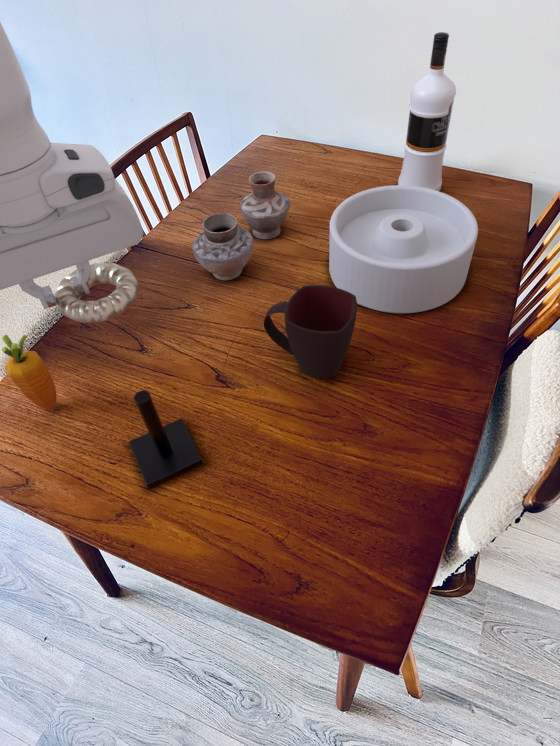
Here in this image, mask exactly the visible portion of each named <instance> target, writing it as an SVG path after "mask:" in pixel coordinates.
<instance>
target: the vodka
mask: <svg viewBox="0 0 560 746" xmlns="http://www.w3.org/2000/svg"><path fill="white" fill-rule="evenodd" d="M449 37H450V34H449V33H448V32H445V31H441V32H436V33H434V35H433V41H432V49H431V55H430V56H431V57H430V63H429V70H428V73H427V74H425V75H423V76H422V77H421V78H419V79H418V80H416V81H415V82H414V83H413V85H412V87H411V90H410V100H409V102H410V103H409V106H408V107H409V113H408V121H407V122H408V123H407V129H406V131H407V132H406V137H405V138H406V139H405V142H404V153H403V154H404V155H403V159H402V160H403V161H402V165H401V170H400V174H399V176H398V181H397V185H408V186H418V187H424V188H429V189H433V190H436V191H439V192H441V189H442V185H443V184H442V183H443V178H442V174H443V163H444V157H445V153H446V150H447V141H448V134H449V130H450V124H451V117H452V113H453V106H454V100H455V97H456V94H457V89H456V88H457V87H456V84H455V83H454V81H453V80H452V79H451V78H450V77H448V76H447V75H446V74H444V73H445V72H444V71H445V62H446V57H447V52H448V43H449Z"/></svg>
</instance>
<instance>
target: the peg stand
mask: <svg viewBox="0 0 560 746" xmlns="http://www.w3.org/2000/svg"><path fill="white" fill-rule="evenodd" d="M133 401H134V403H135V405H136V408H137V410H138V412H139V414H140V417H141V419H142V421H143V422H144V423H143V424H144V426H145V428H146V430H147V433H145V434H143V435H140V436H138V437H136V438H134V439H131V440H129V442H128V443H129V446H130V448H131V450H132V453H133V456H134V458H135V461H136V464H137V466H138V468H139V471H140V473H141V476H142V479H143V481H144V484H145V486H146V488H147V490H151V489H152V488H154V487H157V486H158V485H161V484H163V483H165V482H168V481H169V480H172V479H174V478H176V477H178V476H180V475H182V474H184V473H186V472H188V471H191V470H193V469H195V468H198V467H200V466H202V465H204V461H203V459H202V456H201V455H200V453H199V451H198V449H197V447H196V444H195V443H194V440H193V438H192V436H191V435H190V432H189V430H188V428H187V426H186V424H185V423H184V420H183V419H182V418H179V419H177V420H174V421H173V422H170V423H168V424H165V425H163V423H162V420H161V417H160V415H159V413H158V410H157V408H156V406H155V403H154V401H153V398H152V396H151V393H150V392H149V391H148V390H139V391H137V392H136V393H135V394H134V396H133Z"/></svg>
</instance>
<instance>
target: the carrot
mask: <svg viewBox="0 0 560 746" xmlns="http://www.w3.org/2000/svg"><path fill="white" fill-rule="evenodd" d="M27 337H28V335H27V334H23V335H22V336H21V338H20V339H19V343H16V342H14V343H13V342H12V340H11V338H10V337H9V336H8V334H4V335H3V336H2V337H1V340H2V341H3V343H5V345H6V346H3V347H2V348H1V351H2V352H3V354H5V355H7V356H9V359H8V361H7V362H6V364H5V366H4V369H5V371H6V373H7V374H8V376H9V378H11V380H12V381H13V382H14V384H15V385H16V386H17V387H18V389H19V390H20V391H21V392H22V394H23V395H24V396H25V397H26V398H27V399H29V401H31V402H32V403H33V404H34V405H36V406H38V407H40V408H42V409H45V410H48V411H52V410H54V409H55V407H56V405H57V397H58V396H57V390H56V385H55V383H54V379H53V377H52V374H51V373H50V371H49V369H48V368H47V366H46V364H45V362H44V361H43V359H42V357H41V356H40V355H39V353H38V352H37V351H35V350H24V348H23V347H24V343H25V341H26V339H27Z"/></svg>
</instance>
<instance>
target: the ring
mask: <svg viewBox="0 0 560 746" xmlns="http://www.w3.org/2000/svg"><path fill="white" fill-rule="evenodd" d="M90 266H91V269H90V273H89V277H88V280H87V282H86V284H87V286H88V288H92V287H95V286H97V285H113V286H115V289H114V291H112V293H110V294H108V295H107V296H105V297H101V298H99V299H95V300H83V299H81V298H80V297H77V295H76V293H75V290H74V288H73V286H72V284H71V281H70V279H69V278H72V277H74V276H76V273H77V268H76V269H75V270H73V271H72V272H71V273H69V274H68V275H67V276H65V277H64V278H62V280H61V281H60V283H59V284H58V286H57V288H56V291H55V293H54V296H55V299H56V301H57V304H58V305H56V306H57V309H58V312H59V313H60V314H61V315H63V316H64V317H66V318H68V319H70V320H73V321H74V322H77V323H89V324H90V323H96V324H99V323H102V322H105V321H108V320H111V319H113V318H116V317H119V316H121V315H122V314H123V313H125V312H126V311H127V310H129V308H131V307H132V306H133V305H134V304H135V302H136V299H137V296H138V293H139V291H140V284H139V282H138V280H137V278H136V277H135V275H134V272H133V271H132V270H131V269H129V268H127V267H124V266H122V265H120V264H117V263H114V262H110V263H109V262H104V263H103V262H102V263H101V262H99V263H98V262H97V263H91V264H90Z"/></svg>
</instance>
